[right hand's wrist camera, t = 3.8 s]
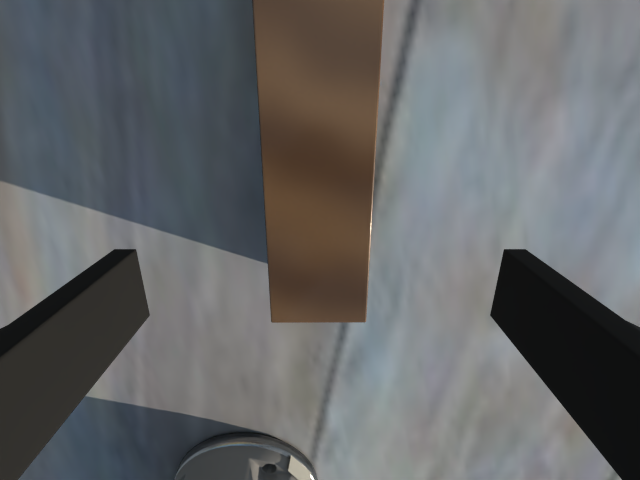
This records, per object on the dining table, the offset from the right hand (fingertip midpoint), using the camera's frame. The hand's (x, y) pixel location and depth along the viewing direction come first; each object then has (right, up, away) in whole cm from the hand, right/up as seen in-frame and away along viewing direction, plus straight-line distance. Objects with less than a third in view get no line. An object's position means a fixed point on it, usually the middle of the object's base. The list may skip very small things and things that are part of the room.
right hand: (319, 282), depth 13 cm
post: (0, +33, +3) cm, 34 cm away
